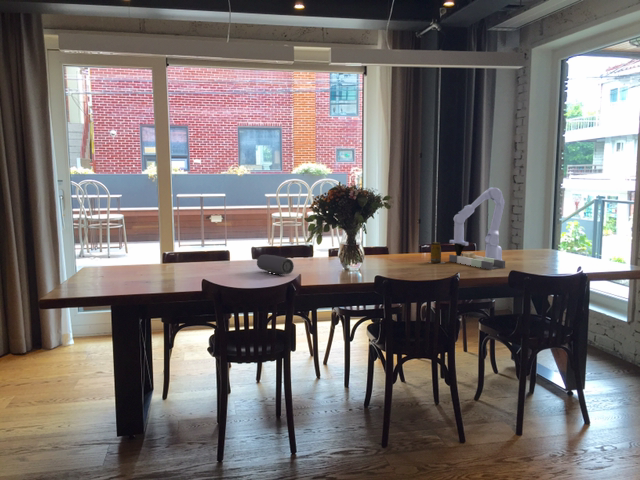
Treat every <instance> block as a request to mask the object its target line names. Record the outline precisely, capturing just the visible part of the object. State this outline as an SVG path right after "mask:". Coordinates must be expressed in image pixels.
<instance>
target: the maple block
mask: <svg viewBox="0 0 640 480" xmlns="http://www.w3.org/2000/svg"><path fill="white" fill-rule="evenodd" d="M462 253H463V257H467V258H473V259H475V255H476V252H472V251H471V252H470V251H467V252H462Z"/></svg>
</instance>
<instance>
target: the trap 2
mask: <svg viewBox="0 0 640 480" xmlns="http://www.w3.org/2000/svg"><path fill="white" fill-rule="evenodd" d="M498 269H504V268H503V267H498V266H493V269H492V270H498Z"/></svg>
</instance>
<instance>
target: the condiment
mask: <svg viewBox="0 0 640 480" xmlns="http://www.w3.org/2000/svg"><path fill="white" fill-rule="evenodd" d="M428 263H430V264H438V265H441V264H446V263H447V262H446V261H445V262H444V261H442V247H441V242H437V241H434V242H431V247H430V261H428Z"/></svg>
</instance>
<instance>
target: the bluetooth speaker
mask: <svg viewBox="0 0 640 480" xmlns="http://www.w3.org/2000/svg"><path fill="white" fill-rule="evenodd" d="M256 266H257V268H258V269H261V270H263V271H266V272H267V273H268V272H271V273H275V274H282V275H289V274H291V273H292V272H293V271H294V262H293V261H292V260H291V259H290V258H287V257H284V256H279V255H273V254H272V255H271V254H260V255H259V256H258V257H257V260H256Z"/></svg>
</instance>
